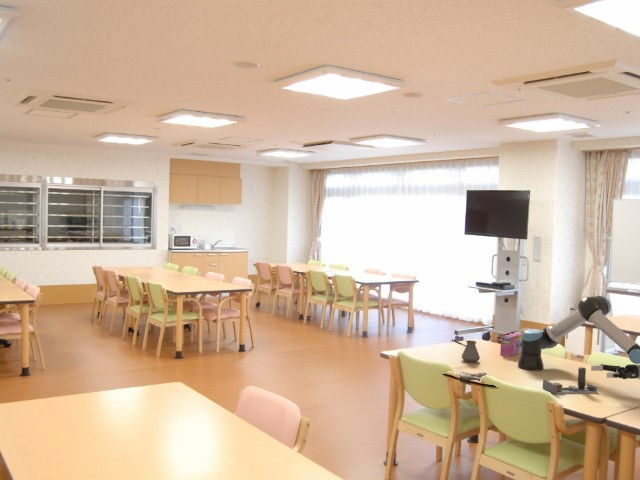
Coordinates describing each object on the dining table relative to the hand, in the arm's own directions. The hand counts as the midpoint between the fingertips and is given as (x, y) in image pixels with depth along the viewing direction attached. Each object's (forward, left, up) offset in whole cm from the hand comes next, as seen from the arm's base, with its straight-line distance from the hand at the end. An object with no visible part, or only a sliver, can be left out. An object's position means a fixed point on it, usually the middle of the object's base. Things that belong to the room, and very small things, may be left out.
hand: (599, 371), depth 319 cm
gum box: (-49, +78, -12) cm, 92 cm away
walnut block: (-21, -12, -11) cm, 26 cm away
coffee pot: (-76, +35, -12) cm, 84 cm away
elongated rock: (-67, -6, -12) cm, 68 cm away
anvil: (-24, -14, -10) cm, 30 cm away
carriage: (-10, -5, -10) cm, 15 cm away
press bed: (-14, -8, -12) cm, 20 cm away
